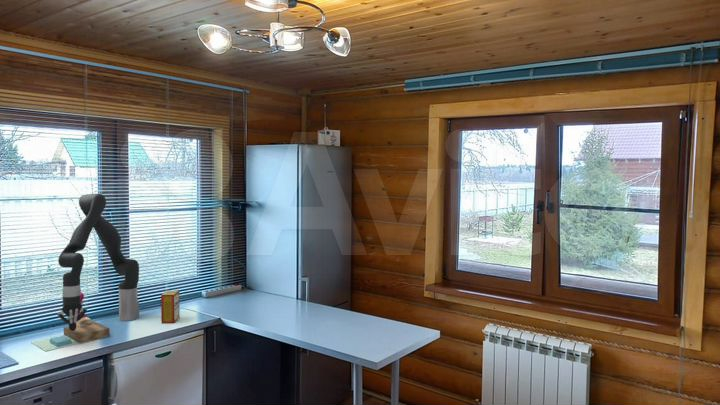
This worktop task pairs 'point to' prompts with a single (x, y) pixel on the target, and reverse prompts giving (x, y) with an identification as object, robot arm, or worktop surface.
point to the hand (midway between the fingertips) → (72, 330)
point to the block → (84, 322)
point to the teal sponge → (60, 341)
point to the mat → (48, 346)
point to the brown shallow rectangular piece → (87, 332)
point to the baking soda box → (170, 307)
